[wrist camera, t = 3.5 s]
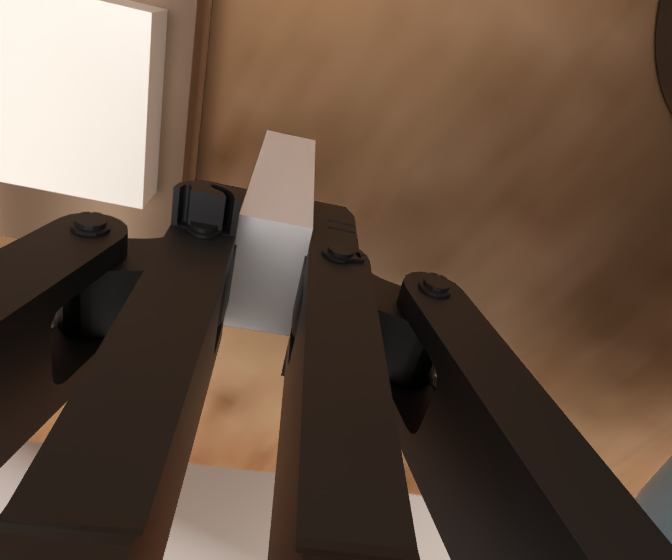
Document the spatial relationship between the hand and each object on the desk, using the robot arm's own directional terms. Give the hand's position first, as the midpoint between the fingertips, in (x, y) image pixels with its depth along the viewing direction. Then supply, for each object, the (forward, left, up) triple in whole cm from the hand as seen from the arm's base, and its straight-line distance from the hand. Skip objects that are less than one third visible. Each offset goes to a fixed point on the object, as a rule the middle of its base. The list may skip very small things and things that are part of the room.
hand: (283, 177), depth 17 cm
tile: (+10, 0, -5) cm, 11 cm away
